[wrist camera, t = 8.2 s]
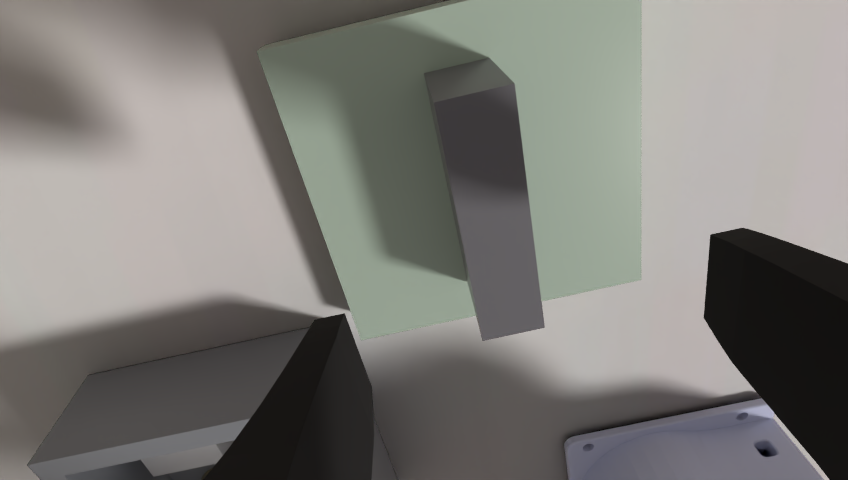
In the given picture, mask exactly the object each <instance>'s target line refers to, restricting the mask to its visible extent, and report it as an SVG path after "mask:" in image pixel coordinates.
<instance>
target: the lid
mask: <svg viewBox="0 0 848 480" xmlns="http://www.w3.org/2000/svg"><path fill="white" fill-rule="evenodd" d="M257 54H258V57H259V60H260V62H261V65H262V68H263V71H264V74H265V76H266V79H267V82H268V85H269V87H270V90H271V93H272V96H273V98H274V101H275V104H276V107H277V109H278V112H279V115H280V118H281V120H282V123H283V126H284V129H285V131H286V134H287V137H288V140H289V142H290V145H291V148H292V151H293V154H294V156H295V159H296V162H297V165H298V167H299V170H300V173H301V176H302V178H303V181H304V184H305V187H306V189H307V192H308V195H309V198H310V200H311V203H312V206H313V209H314V211H315V214H316V217H317V220H318V222H319V225H320V228H321V231H322V234H323V236H324V239H325V242H326V245H327V247H328V250H329V253H330V256H331V258H332V261H333V264H334V267H335V269H336V272H337V275H338V278H339V280H340V283H341V286H342V289H343V291H344V294H345V297H346V300H347V302H348V305H349V308H350V311H351V314H352V316H353V319H354V322H355V325H356V327H357V330H358V333H359V336H360V338H361V340H366V339H370V338H375V337H379V336H384V335H389V334H393V333H398V332H403V331H407V330H412V329H416V328H421V327H426V326H430V325H435V324H439V323H444V322H449V321H453V320H458V319H463V318H467V317H472V316H476V317H477V321H478V325H479V329H480V332H481V336H482V340H483V341H484V340H489V339H494V338H498V337H503V336H508V335H512V334H517V333H522V332H526V331H531V330H536V329H540V328H545V327H544V318H543V310H542V302H541V301H546V300H550V299H555V298H560V297H564V296H569V295H574V294H578V293H583V292H587V291H592V290H597V289H601V288H606V287H611V286H615V285H620V284H624V283H629V282H634V281H638V280H641V0H448V1H444V2H440V3H436V4H432V5H428V6H423V7H419V8H415V9H411V10H407V11H403V12H399V13H395V14H390V15H386V16H382V17H378V18H374V19H370V20H366V21H362V22H358V23H353V24H349V25H345V26H341V27H337V28H333V29H329V30H325V31H320V32H316V33H312V34H308V35H304V36H300V37H296V38H292V39H288V40H283V41H279V42H275V43H271V44H267V45H264V46H263V47H261V48H260V49H259V50H258V51H257Z"/></svg>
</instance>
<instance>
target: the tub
mask: <svg viewBox="0 0 848 480" xmlns="http://www.w3.org/2000/svg"><path fill="white" fill-rule="evenodd" d="M308 330H309V328H305V329H301V330H296V331H291V332H287V333H282V334H277V335H273V336H268V337H264V338H259V339H254V340H250V341H245V342H240V343H236V344H231V345H226V346H222V347H217V348H213V349H208V350H203V351H199V352H194V353H189V354H185V355H180V356H175V357H171V358H166V359H162V360H157V361H152V362H148V363H143V364H138V365H134V366H129V367H124V368H120V369H115V370H111V371H106V372H101V373H97V374H92V375H88V376H87V378H86V379H85V381H84V382H83V384H82V385H81V387H80V388H79V389H78V391H77V392H76V394H75V395H74V397H73V398H72V400H71V401H70V403H69V404H68V406H67V407H66V409H65V410H64V412H63V413H62V414H61V416H60V417H59V419H58V420H57V422H56V423H55V425H54V426H53V428H52V429H51V431H50V432H49V434H48V435H47V437H46V438H45V439H44V441H43V442H42V444H41V445H40V447H39V448H38V450H37V451H36V453H35V454H34V456H33V457H32V459H31V460H30V462H29V463H28V464H27V466H28V467H29V468H30V469H31V470H32V471H33V472H34V473H35V474H36V475H37V476H38V477H39V479H40V480H203V479H204V478H205V477H206V475H207V474H208V473H209V472H210V471H211V470H212V468H213V467H214V466H215V465H216V463H217V462H218V461H219V460H220V458H221V457H222V456H223V455H224V453H225V452H226V451H227V450H228V448H229V447H230V446H231V444H232V443H233V442H234V440H235V439H236V438H237V436H238V435H239V433H240V432H241V431H242V429H243V428H244V427H245V425H246V424H247V422H248V421H249V420H250V418H251V417H252V416H253V414H254V413H255V411H256V410H257V409H258V407H259V406H260V404H261V403H262V401H263V400H264V398H265V397H266V395H267V394H268V392H269V391H270V389H271V388H272V386H273V385H274V383H275V381H276V380H277V378H278V377H279V375H280V374H281V372H282V371H283V369H284V368H285V366H286V364H287V363H288V361H289V360H290V358H291V357H292V355H293V353H294V352H295V350H296V348H297V347H298V345H299V344H300V342H301V340H302V339H303V337H304V336H305V334H306V333H307V331H308ZM373 418H374V417H373ZM371 480H398V479H397V477H396V474H395V472H394V469H393V466H392V464H391V461H390V458H389V456H388V453H387V451H386V448H385V445H384V443H383V440H382V438H381V435H380V432H379V430H378V427H377V424H376V422H375V419H374V448H373V464H372V479H371Z"/></svg>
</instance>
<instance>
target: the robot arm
mask: <svg viewBox="0 0 848 480" xmlns="http://www.w3.org/2000/svg"><path fill="white" fill-rule="evenodd" d="M704 319H705V320H706V322H707V324H708V325H709V327H710V329H711V330H712V332H713V333H714V335H715V337H716V338H717V340H718V342H719V343H720V345H721V346H722V348H723V349H724V351H725V352H726V354H727V355H728V357H729V358H730V360H731V361H732V363H733V364H734V365H735V366H736V368H737V369H738V370H739V371H740V373H741V374H742V375H743V376H744V377H745V379H746V380H747V381H748V382H749V383H750V385H751V386H752V387H753V388H754V389H755V391H756V392H757V393H758V394H759V395H760V397H761V398H760V399H755V400H750V401H745V402H740V403H735V404H730V405H726V406H721V407H716V408H711V409H706V410H701V411H696V412H691V413H686V414H681V415H676V416H671V417H666V418H661V419H656V420H651V421H646V422H641V423H636V424H631V425H627V426H622V427H617V428H612V429H607V430H602V431H597V432H592V433H587V434H582V435H577V436H573V437H570V438H569V439H567V440H566V442H565V444H564V447H565V456H566V465H567V474H568V480H824V479H823V478H822V477H821V475H820V474H819V473H818V472H817V471H816V469H815V468H814V467H813V466H812V465H811V463H810V462H809V461H808V460H807V459H806V457H805V456H804V455H803V454H802V453H801V451H800V450H799V449H798V448H797V447H796V445H795V444H794V443H793V442H792V440H791V439H790V438H789V437H788V436H787V434H786V433H785V432H784V431H783V430H782V428H781V427H780V426H779V425H778V424H777V422H776V421H775V420H774V419H773V417H774V413H775V414H776V415H777V417H778V418H779V419H780V420H781V421H782V423H783V424H784V425H785V426H786V427H787V428H788V430H789V431H790V432H791V433H792V434H793V436H794V437H795V438H796V439H797V440H798V441H799V443H800V444H801V445H802V446H803V447H804V449H805V450H806V451H807V452H808V453H809V454H810V456H811V457H812V458H813V459H814V460H815V461H816V463H817V464H818V465H819V467H820V468H821V469H822V470H823V472H824V473H825V474H826V475H827V477H828V478H829V479H830V480H848V263H845V262H842V261H839V260H836V259H834V258H831V257H828V256H825V255H822V254H820V253H817V252H814V251H811V250H808V249H806V248H803V247H800V246H797V245H794V244H792V243H789V242H786V241H783V240H780V239H777V238H774V237H772V236H768V235H765V234H762V233H759V232H756V231H753V230H749V229H745V228H739V229H735V230H730V231H725V232H721V233H716V234H711V235H710V247H709V260H708V272H707V285H706V297H705V310H704ZM373 448H374V418H373V401H372V387H371V384H370V381H369V378H368V376H367V373H366V370H365V368H364V365H363V362H362V359H361V357H360V354H359V351H358V349H357V346H356V343H355V340H354V338H353V335H352V332H351V329H350V327H349V324H348V321H347V319H346V316H345V313H344V314H340V315H335V316H330V317H326V318H321V319H317V320H314V322H313V323H312V325H311V326H310V328H309V330H308V331H307V333H306V334H305V336H304V337H303V339H302V340H301V342H300V344H299V345H298V347H297V348H296V350H295V352H294V353H293V355H292V357H291V358H290V360H289V361H288V363H287V364H286V366H285V368H284V369H283V371H282V372H281V374H280V375H279V377H278V378H277V380H276V381H275V383H274V385H273V386H272V388H271V389H270V391H269V392H268V394H267V395H266V397H265V398H264V400H263V401H262V403H261V404H260V406H259V407H258V409H257V410H256V411H255V413H254V414H253V416H252V417H251V418H250V420H249V421H248V422H247V424H246V425H245V427H244V428H243V429H242V431H241V432H240V433H239V435H238V436H237V438H236V439H235V440H234V442H233V443H232V444H231V446H230V447H229V448H228V450H227V451H226V452H225V453H224V455H223V456H222V457H221V458H220V460H219V461H218V462H217V463H216V465H215V466H214V467H213V468H212V470H211V471H210V472H209V473H208V474H207V475H206V477H205V478H204V479H203V480H371V479H372V464H373Z"/></svg>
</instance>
